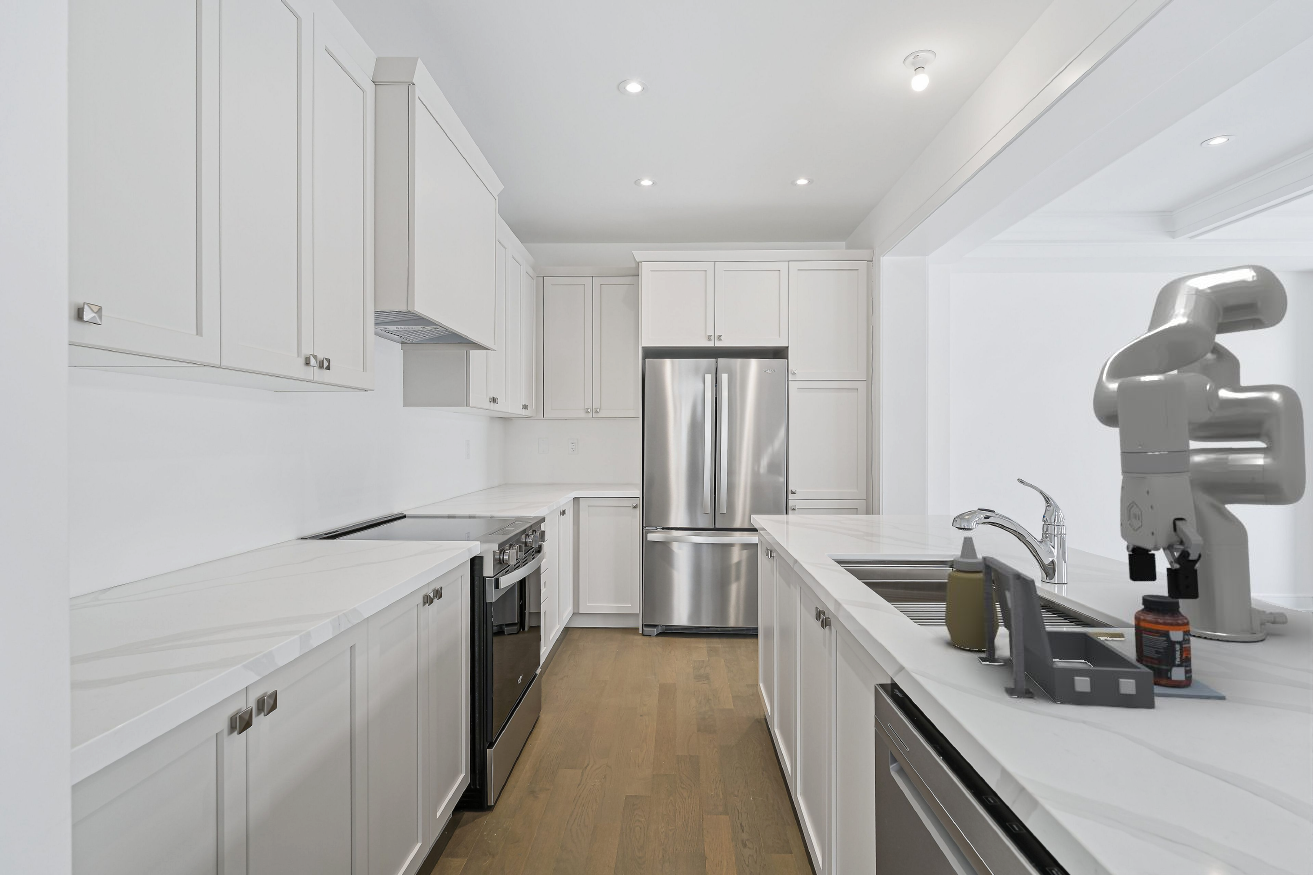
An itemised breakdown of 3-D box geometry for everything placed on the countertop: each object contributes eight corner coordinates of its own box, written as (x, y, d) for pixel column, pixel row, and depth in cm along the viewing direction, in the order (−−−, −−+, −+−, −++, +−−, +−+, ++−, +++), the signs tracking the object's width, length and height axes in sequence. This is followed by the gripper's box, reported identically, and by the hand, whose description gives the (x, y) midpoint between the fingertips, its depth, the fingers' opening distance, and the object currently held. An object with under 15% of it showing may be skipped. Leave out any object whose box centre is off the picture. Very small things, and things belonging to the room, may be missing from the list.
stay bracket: (999, 659, 97) (994, 555, 98) (1035, 698, 82) (1030, 574, 83) (977, 659, 98) (973, 555, 98) (1010, 696, 83) (1005, 574, 83)
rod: (1125, 639, 105) (1122, 643, 106) (1122, 631, 106) (1119, 635, 107) (1045, 636, 107) (1043, 640, 108) (1043, 628, 108) (1041, 632, 109)
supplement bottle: (1197, 691, 82) (1192, 604, 82) (1139, 684, 85) (1135, 599, 85) (1188, 677, 87) (1184, 594, 87) (1134, 670, 90) (1130, 590, 90)
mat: (1183, 674, 89) (1183, 672, 89) (1225, 699, 80) (1225, 696, 80) (1111, 671, 91) (1111, 668, 91) (1144, 695, 82) (1144, 692, 82)
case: (1089, 661, 96) (1088, 631, 96) (1156, 709, 78) (1155, 672, 78) (1009, 657, 98) (1008, 628, 98) (1057, 704, 80) (1055, 668, 80)
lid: (992, 556, 99) (986, 557, 99) (1034, 579, 81) (1026, 580, 81) (1008, 626, 98) (1002, 627, 98) (1054, 664, 81) (1046, 665, 81)
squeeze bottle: (988, 657, 99) (983, 541, 99) (936, 646, 105) (932, 537, 105) (1008, 645, 104) (1003, 536, 104) (958, 636, 110) (953, 532, 110)
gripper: (1095, 462, 96) (1101, 575, 96) (1158, 469, 79) (1166, 606, 79) (1151, 460, 94) (1158, 574, 94) (1229, 467, 77) (1237, 606, 77)
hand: (1162, 589), depth 87 cm, fingers open, 9 cm apart
